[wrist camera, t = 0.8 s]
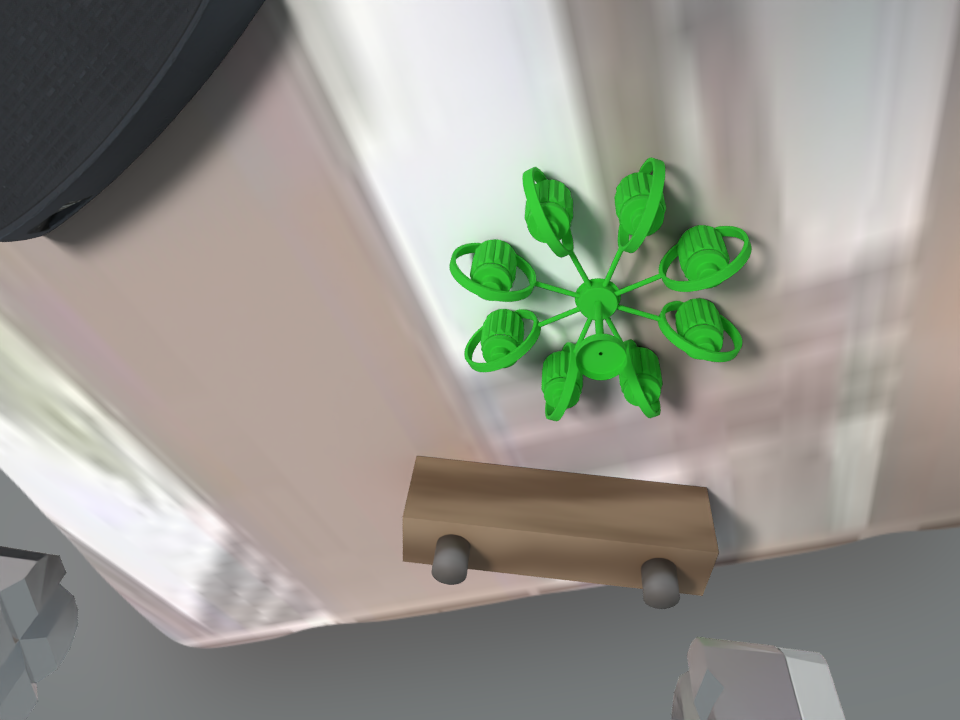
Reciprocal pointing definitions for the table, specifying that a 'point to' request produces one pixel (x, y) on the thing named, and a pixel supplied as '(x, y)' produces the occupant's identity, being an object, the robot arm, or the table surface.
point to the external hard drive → (95, 93)
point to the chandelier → (602, 294)
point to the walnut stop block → (559, 527)
